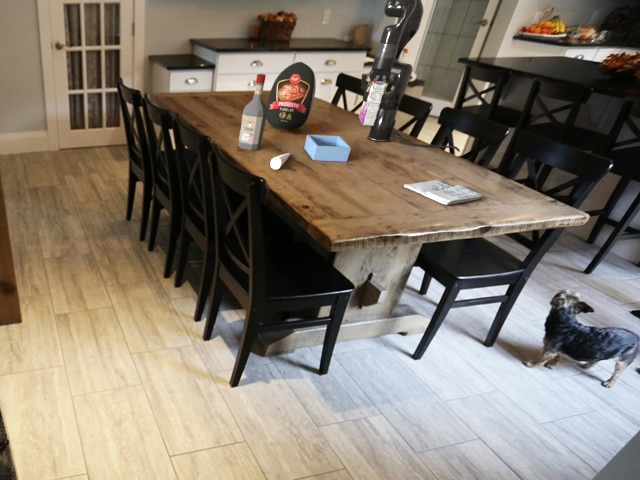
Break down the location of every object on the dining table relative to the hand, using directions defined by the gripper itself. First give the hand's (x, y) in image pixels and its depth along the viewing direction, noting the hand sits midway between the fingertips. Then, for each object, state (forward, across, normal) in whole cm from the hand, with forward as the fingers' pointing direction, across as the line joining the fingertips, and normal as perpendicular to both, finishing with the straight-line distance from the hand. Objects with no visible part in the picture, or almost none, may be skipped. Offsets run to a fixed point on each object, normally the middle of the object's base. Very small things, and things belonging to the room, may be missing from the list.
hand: (371, 101), depth 209 cm
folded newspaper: (+22, -19, +44) cm, 53 cm away
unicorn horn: (+22, +36, +15) cm, 45 cm away
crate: (+22, +14, +2) cm, 26 cm away
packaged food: (+23, +24, -40) cm, 52 cm away
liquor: (+22, +47, -5) cm, 53 cm away
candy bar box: (+9, 0, 0) cm, 9 cm away
